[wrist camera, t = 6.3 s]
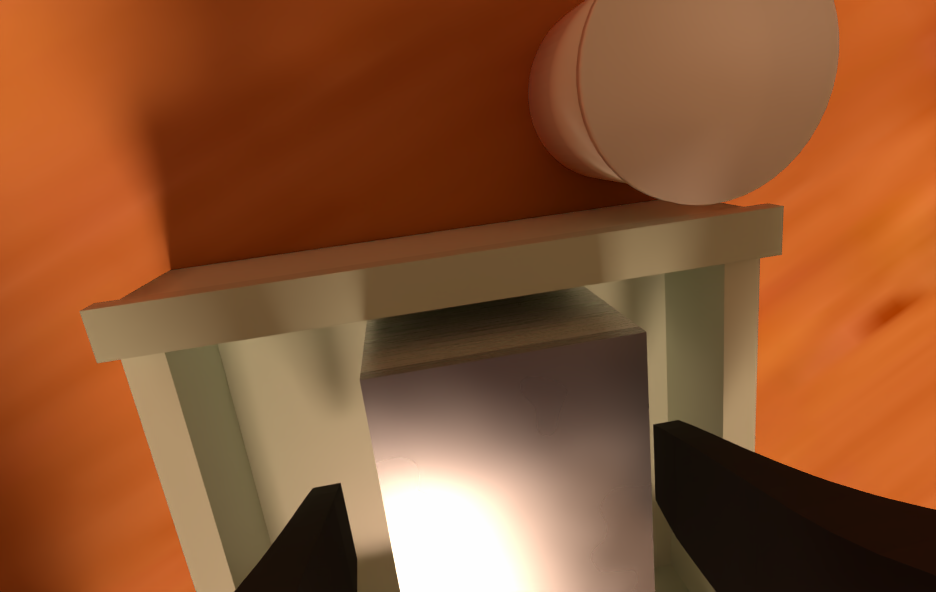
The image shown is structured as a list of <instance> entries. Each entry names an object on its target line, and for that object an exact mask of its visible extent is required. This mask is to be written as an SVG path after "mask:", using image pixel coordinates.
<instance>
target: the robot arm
mask: <svg viewBox="0 0 936 592" xmlns="http://www.w3.org/2000/svg"><path fill="white" fill-rule="evenodd" d="M653 438H654V470H655V500H656V502H657V504H658V506H659V507H660V509H661V511H662V513H663V515H664V517H665V519H666V521H667V522H668V524H669V526H670V528H671V529H672V531H673V533H674V534H675V536H676V538H677V539H678V541H679V542H680V544H681V545H682V547H683V548H684V549H685V551H686V552H687V553H688V555H689V556H690V558H691V559H692V560H693V562H694V563H695V564H696V566H697V567H698V568H699V570H700V571H701V573H702V574H703V575H704V577H705V578H706V579H707V581H708V582H709V583H710V585H711V586H712V587H713V589H714V590H715V591H716V592H936V510H934V509H930V508H925V507H921V506H917V505H913V504H909V503H905V502H900V501H896V500H892V499H888V498H884V497H881V496H877V495H873V494H870V493H866V492H863V491H859V490H856V489H853V488H850V487H847V486H843V485H840V484H837V483H834V482H830V481H827V480H825V479H822V478H819V477H816V476H813V475H810V474H808V473H805V472H802V471H800V470H797V469H794V468H792V467H789V466H787V465H784V464H781V463H779V462H776V461H774V460H772V459H769V458H767V457H764V456H762V455H760V454H757V453H755V452H753V451H750V450H748V449H746V448H743V447H741V446H739V445H737V444H734V443H732V442H730V441H728V440H725V439H723V438H721V437H719V436H716V435H714V434H712V433H710V432H707V431H705V430H703V429H700V428H698V427H696V426H693V425H691V424H688V423H686V422H683V421H680V420H675V421H669V422H664V423H658V424H653ZM234 592H357V555H356V551H355V546H354V542H353V537H352V532H351V528H350V523H349V519H348V514H347V509H346V505H345V500H344V496H343V491H342V486H341V483H336V484H331V485H326V486H320V487H315V488H312V490H311V491H310V492H309V493H308V495H307V496H306V498H305V499H304V500H303V502H302V503H301V505H300V506H299V508H298V509H297V510H296V512H295V513H294V515H293V516H292V518H291V519H290V520H289V522H288V523H287V525H286V526H285V527H284V529H283V530H282V532H281V533H280V534H279V536H278V537H277V538H276V540H275V541H274V542H273V544H272V545H271V546H270V548H269V549H268V550H267V552H266V553H265V554H264V556H263V557H262V558H261V560H260V561H259V562H258V563H257V565H256V566H255V567H254V568H253V569H252V571H251V572H250V573H249V574H248V575H247V577H246V578H245V579H244V580H243V582H242V583H241V584H240V585H239V586H238V588H237V589H236V590H235V591H234Z"/></svg>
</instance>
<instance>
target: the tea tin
mask: <svg viewBox="0 0 936 592" xmlns="http://www.w3.org/2000/svg"><path fill="white" fill-rule="evenodd" d="M360 385H361V391H362V396H363V401H364V406H365V411H366V416H367V422H368V427H369V432H370V437H371V442H372V447H373V452H374V458H375V463H376V468H377V473H378V478H379V483H380V488H381V494H382V499H383V504H384V509H385V514H386V519H387V525H388V530H389V535H390V540H391V545H392V550H393V555H394V561H395V566H396V571H397V576H398V581H399V586H400V592H655V574H654V544H653V513H652V483H651V453H650V422H649V392H648V362H647V332H646V331H644V330H643V329H642V328H640V327H639V326H638V325H636V324H635V323H634V322H632V321H631V320H629V319H628V318H627V317H625V316H624V315H623V314H621V313H620V312H619V311H617V310H616V309H614V308H613V307H612V306H610V305H609V304H608V303H606V302H605V301H604V300H602V299H601V298H599V297H598V296H597V295H595V294H594V293H593V292H591V291H590V290H589V289H587V288H586V287H584V286H581V287H575V288H568V289H562V290H556V291H549V292H543V293H537V294H530V295H524V296H518V297H512V298H505V299H499V300H493V301H486V302H480V303H474V304H467V305H461V306H455V307H448V308H442V309H436V310H430V311H423V312H417V313H411V314H404V315H398V316H392V317H385V318H379V319H373V320H367V324H366V332H365V341H364V349H363V357H362V365H361V373H360Z"/></svg>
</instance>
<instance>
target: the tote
mask: <svg viewBox="0 0 936 592" xmlns="http://www.w3.org/2000/svg"><path fill="white" fill-rule="evenodd" d="M783 208H784V206H780V205H774V204H760V205H754V206H747V207H741V206H736V205H730V204H724V203H716V204H708V205H685V204H678V203H674V202H669V201H664V200H652V201H645V202H638V203H631V204H624V205H617V206H610V207H604V208H597V209H590V210H583V211H576V212H569V213H562V214H555V215H548V216H541V217H534V218H528V219H521V220H514V221H507V222H500V223H493V224H486V225H479V226H472V227H465V228H458V229H451V230H445V231H438V232H431V233H424V234H417V235H410V236H403V237H396V238H389V239H382V240H375V241H369V242H362V243H355V244H348V245H341V246H334V247H327V248H320V249H313V250H306V251H299V252H292V253H286V254H279V255H272V256H265V257H258V258H251V259H244V260H237V261H230V262H223V263H216V264H210V265H203V266H196V267H189V268H182V269H175V270H170V271H168V272H166V273H164V274H163V275H161V276H159V277H157V278H156V279H154V280H152V281H151V282H149V283H147V284H145V285H144V286H142V287H140V288H138V289H137V290H135V291H133V292H132V293H130V294H128V295H126V296H125V297H123V298H121V299H120V300H113V301H107V302H100V303H94V304H92V305H90V306H88V307H86V308H85V309H83V310H81V311H80V314H81V317H82V320H83V323H84V326H85V329H86V332H87V335H88V338H89V341H90V344H91V347H92V349H93V352H94V355H95V358H96V361H97V363H102V362H108V361H114V360H121V361H122V364H123V368H124V371H125V374H126V377H127V380H128V383H129V386H130V389H131V392H132V395H133V398H134V402H135V405H136V408H137V411H138V414H139V417H140V420H141V423H142V426H143V429H144V432H145V435H146V439H147V442H148V445H149V448H150V451H151V454H152V457H153V460H154V463H155V466H156V469H157V473H158V476H159V479H160V482H161V485H162V488H163V491H164V494H165V497H166V500H167V503H168V507H169V510H170V513H171V516H172V519H173V522H174V525H175V528H176V531H177V534H178V537H179V540H180V544H181V547H182V550H183V553H184V556H185V559H186V562H187V565H188V568H189V571H190V574H191V578H192V581H193V584H194V587H195V590H196V592H234V591H235V590H236V589H237V588H238V586H239V585H240V584H241V583H242V582H243V580H244V579H245V578H246V577H247V575H248V574H249V573H250V572H251V571H252V569H253V568H254V567H255V566H256V565H257V563H258V562H259V561H260V560H261V558H262V557H263V556H264V554H265V553H266V552H267V550H268V549H269V548H270V546H271V545H272V544H273V542H274V541H275V540H276V538H277V537H278V536H279V534H280V533H281V532H282V530H283V529H284V527H285V526H286V525H287V523H288V522H289V520H290V519H291V518H292V516H293V515H294V513H295V512H296V510H297V509H298V508H299V506H300V505H301V503H302V502H303V500H304V499H305V498H306V496H307V495H308V493H309V492H310V491H311V490H312V488H315V487H320V486H326V485H331V484H336V483H341V486H342V491H343V496H344V500H345V505H346V509H347V514H348V519H349V523H350V528H351V532H352V537H353V542H354V546H355V551H356V555H357V592H400V586H399V581H398V576H397V571H396V566H395V561H394V555H393V550H392V545H391V540H390V535H389V530H388V525H387V519H386V514H385V509H384V504H383V499H382V494H381V488H380V483H379V478H378V473H377V468H376V463H375V458H374V452H373V447H372V442H371V437H370V432H369V427H368V422H367V416H366V411H365V406H364V401H363V396H362V391H361V385H360V373H361V365H362V357H363V349H364V341H365V332H366V324H367V320H373V319H379V318H385V317H392V316H398V315H404V314H411V313H417V312H423V311H430V310H436V309H442V308H448V307H455V306H461V305H467V304H474V303H480V302H486V301H493V300H499V299H505V298H512V297H518V296H524V295H530V294H537V293H543V292H549V291H556V290H562V289H568V288H575V287H581V286H584V287H586V288H587V289H589V290H590V291H591V292H593V293H594V294H595V295H597V296H598V297H599V298H601V299H602V300H604V301H605V302H606V303H608V304H609V305H610V306H612V307H613V308H614V309H616V310H617V311H619V312H620V313H621V314H623V315H624V316H625V317H627V318H628V319H629V320H631V321H632V322H634V323H635V324H636V325H638V326H639V327H640V328H642V329H643V330H644V331H646V332H647V362H648V392H649V422H650V453H651V483H652V513H653V544H654V574H655V592H716V591H715V590H714V589H713V587H712V586H711V585H710V583H709V582H708V581H707V579H706V578H705V577H704V575H703V574H702V573H701V571H700V570H699V568H698V567H697V566H696V564H695V563H694V562H693V560H692V559H691V558H690V556H689V555H688V553H687V552H686V551H685V549H684V548H683V547H682V545H681V544H680V542H679V541H678V539H677V538H676V536H675V534H674V533H673V531H672V529H671V528H670V526H669V524H668V522H667V521H666V519H665V517H664V515H663V513H662V511H661V509H660V507H659V506H658V504H657V502H656V500H655V470H654V438H653V424H658V423H664V422H669V421H675V420H680V421H683V422H686V423H688V424H691V425H693V426H696V427H698V428H700V429H703V430H705V431H707V432H710V433H712V434H714V435H716V436H719V437H721V438H723V439H725V440H728V441H730V442H732V443H734V444H737V445H739V446H741V447H743V448H746V449H748V450H750V451H753V452H755V421H756V385H757V348H758V312H759V275H760V258H764V257H770V256H776V255H782V234H783Z"/></svg>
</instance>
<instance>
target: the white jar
mask: <svg viewBox="0 0 936 592" xmlns="http://www.w3.org/2000/svg"><path fill="white" fill-rule="evenodd" d="M838 56H839V28H838V19H837V13H836V9H835V4H834V0H585V1H584V2H582V3H581V4H579V5H578V6H577V7H575V8H574V9H573V10H571V11H570V12H569V13H567V14H566V15H564V16H563V17H562V18H561V19H560V20H559V21H558V22H557V23H556V24H555V25H554V26H553V27H552V28H551V30H550V31H549V32H548V33H547V35H546V36H545V38H544V39H543V41H542V43H541V44H540V46H539V49H538V51H537V53H536V55H535V58H534V61H533V64H532V67H531V71H530V76H529V84H528V104H529V110H530V115H531V119H532V123H533V126H534V128H535V131H536V133H537V135H538V137H539V139H540V140H541V142H542V144H543V146H544V147H545V148H546V149H547V151H548V152H549V153H550V154H551V155H552V156H553V157H554V158H555V159H556V160H557V161H558V162H559V163H561V164H562V165H563V166H565V167H566V168H568V169H570V170H572V171H573V172H575V173H578V174H581V175H584V176H587V177H592V178H597V179H603V180H609V181H615V182H621V183H627V184H628V185H630V186H631V187H633V188H634V189H636V190H638V191H640V192H642V193H644V194H646V195H648V196H651V197H654V198H657V199H659V200H664V201H669V202H674V203H678V204H685V205H708V204H716V203H721V202H725V201H730V200H732V199H735V198H738V197H741V196H743V195H746V194H748V193H750V192H752V191H754V190H756V189H757V188H759V187H761V186H762V185H764V184H765V183H767V182H768V181H770V180H771V179H773V178H774V177H775V176H776V175H778V174H779V173H780V172H781V171H782V170H784V169H785V168H786V167H787V166H788V165H789V164H790V163H791V162H792V161H793V159H794V158H795V157H796V156H797V155H798V154H799V153H800V152H801V150H802V149H803V148H804V146H805V145H806V144H807V142H808V141H809V140H810V138H811V136H812V135H813V133H814V131H815V130H816V128H817V126H818V124H819V123H820V120H821V118H822V116H823V114H824V112H825V110H826V107H827V105H828V102H829V99H830V96H831V93H832V90H833V86H834V81H835V77H836V72H837V65H838Z"/></svg>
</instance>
